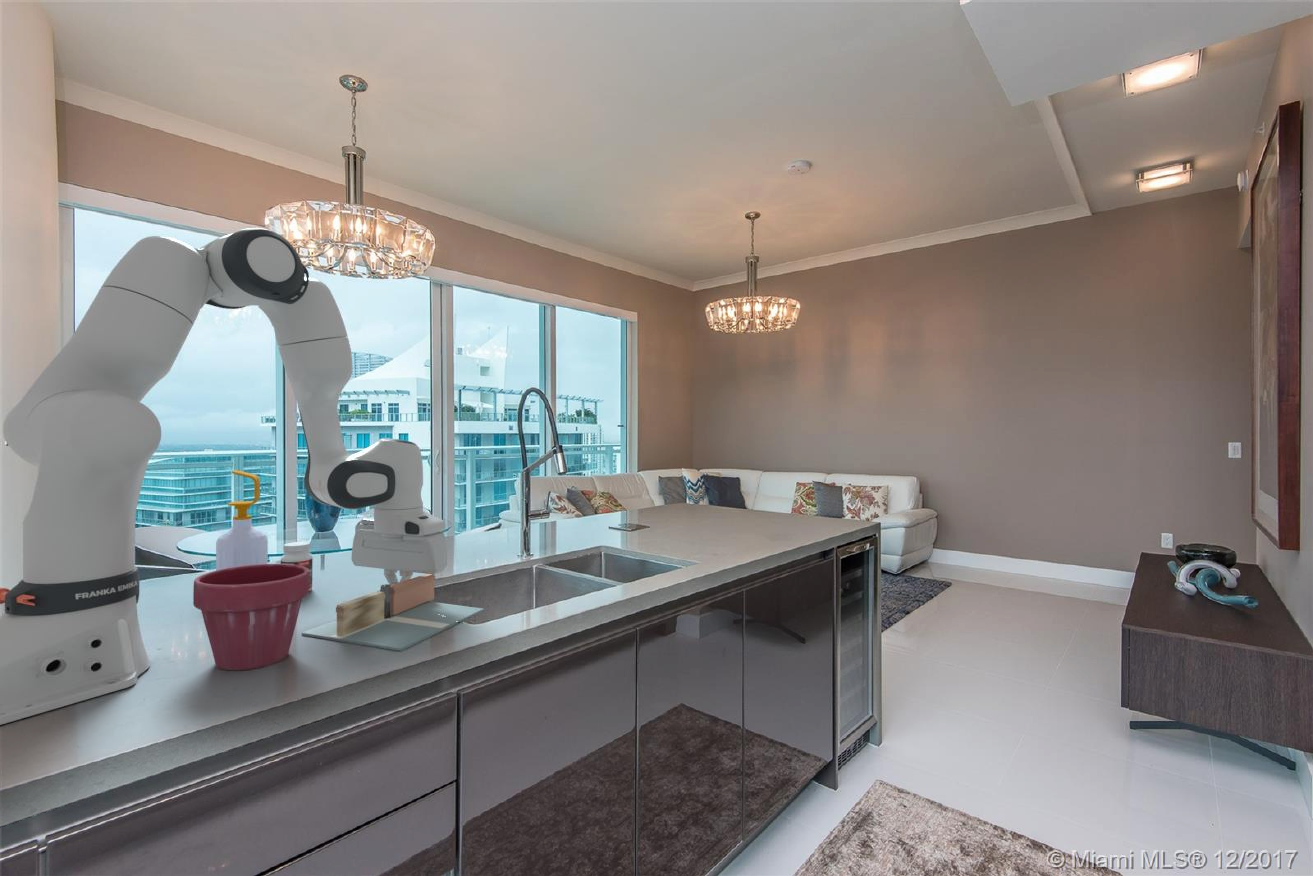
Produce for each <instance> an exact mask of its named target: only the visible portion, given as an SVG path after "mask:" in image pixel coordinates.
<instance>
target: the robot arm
mask: <svg viewBox="0 0 1313 876" xmlns="http://www.w3.org/2000/svg"><path fill="white" fill-rule="evenodd" d="M309 273H310V272H309V270H308V269H307V268H306V266H305V265H304V264H303V262H302V259H301V257H300V255H299V253H298V252H297V251H296V249H295V248H294V246H293V245H292V244H291V243H290V242H289V241H288V240H287V239H286V238H285V237H284V236H283V235H281V234H280V233H277V232H275V231H272V230H270V229H266V228H259V227H256V228H255V227H253V228H249V227H248V228H243V229H238V230H236V231H234V232H233V233H231V234H227V235H223V236H220V237H218V238H216V239H214V240H212V241H210V242H208V243H207V244H205V245H203V246H201V247H200V248H196V247H192V246H190V245H189V244H187V243H185V242H183V241H181V240H177V239H175V238H173V237H167V236H162V235H161V236H160V235H152V236H146V237H144V238H141V239H140V240H139V241H137V242H136V243H135V244H134V245H133V246H132V247H131V248H130V249H129V250H128V251H127V252H126V253H125V254H124V256H123V257H121V259H120V260H119V261H118V262H117V263H116V265H115V266H114V267H113V268H112V270H111V272H110V273H109V274H108V275H107V277H106V279H105V280H104V282H103V284H102V285H101V287H100V288H99V290H98V291H97V294H96V296H95V297H94V299H93V301H92V302H91V304H90V305H89V307H88V309H87V311H86V312H85V314H84V316H83V318H82V319H81V321H80V323H79V324H78V325H77V328H76V329H75V331H74V332H73V334H72V335H71V337H70V339H69V340H68V341H67V342H66V344H65V345H64V346H63V347H62V349H61V350H60V351H59V352H58V353H57V354H56V355H55V357H54V358H53V359H52V360H51V362H50V363H48V365H47V366H46V367H45V368H44V370H42V373H41V374H40V375H39V376H38V377H37V378H36V380H34V382H33V384H32V385H31V386H30V388H29V389H28V390H27V392H26V393H25V394H24V396H23V397H22V399H21V400H20V401H18V403H17V404H16V405H15V406H14V407H13V408H11V410H10V411H9V412H8V414H7V415H6V417H5V418H4V421H3V424H2V434H3V438H4V439H5V442H6V444H7V445H8V446H9V448H10V449H11V450H12V451H13V452H14V453H15V454H16V455H17V456H19V458H20V459H23V460H24V461H25V462H27V463H29V464H31V465H33V466H36V467H38V470H37V471H38V473H37V478H36V481H35V486H34V491H33V495H32V498H31V502H30V505H29V508H28V511H27V512H26V514H25V515H24V517H23V521H22V579H21V580H20V581H18V583H17V584H16V585H15V586H13V587H12V588H11V589H9V588H7V587H0V605H3V604H4V613H3V614H2V615H1V616H0V726H1V725H4V724H8V723H12V722H15V721H18V720H22V719H24V718H28V717H32V716H35V715H39V714H43V713H46V712H49V711H53V710H56V709H59V708H62V707H65V706H69V705H73V704H75V703H79V702H82V701H87V700H89V699H93V698H96V697H100V696H103V695H106V694H109V693H112V692H117V691H120V690H123V689H126V688H127V689H128V688H129V687H132V686H134V685H135V684H136V683H137V681H138V677H140V675H141V674H143V673H144V672H146V670H147V669H149V667H150V666H151V661H150V658H149V655H148V653H147V650H146V648H145V645H144V641H143V636H142V633H141V627H140V621H139V615H138V605H137V604H138V603H139V600H140V599H139V598H140V570H139V567H137V566H136V516H137V508H138V503H139V498H140V495H141V490H142V486H143V484H144V483H143V482H144V479H145V475H146V471H147V467H148V463H149V461H150V459H151V458H152V456H153V455H154V454H155V453H156V451H157V450H158V448H159V446H160V443H161V439H162V427H161V423H160V421H159V418H158V417H157V416H156V414H155V413H154V411H152V410H151V408H150V407H148V406H146V405H145V404H144V403H142V402H141V401H142V400H143V399H144V398H145V396H146V395H147V394H148V393H149V392H150V391H151V389H153V387H154V386H156V384H158V382H160V381H161V380H162V379H163V378H165V377H166V376H167V375H168V374H169V372H170V371H171V369H172V367H173V366H174V363H175V361H176V360H177V357H178V355H179V353H180V352H181V350H182V348H183V345H184V343H185V342H186V340H187V337H188V336H189V334H190V332H191V330H192V328H193V327H194V324H195V322H196V320H197V318H198V315H199V313H200V311H201V309H202V308H203V307H204V306H205V305H209V306H212V307H216V308H219V309H228V310H236V309H237V310H238V309H243V308H245V307H249V306H250V307H251V306H258V308H259V309H260V310H261V311H262V312H263V314H265V316H266V317H267V318H268V320H269V322H270V323H271V326H272V327H273V330H274V335H275V339H276V344H277V346H278V351H279V355H280V358H281V361H282V364H283V367H284V370H285V373H286V375H287V378H288V380H289V381H288V382H289V383H290V385H291V389H292V391H293V394H294V398H295V399H296V403H297V407H298V411H299V417H300V421H301V426H302V430H303V435H304V438H305V439H304V440H305V443H306V449H307V464H306V469H305V473H304V487H305V489H306V492H307V494H308V495H309V496H310V497H311V498H312V499H313V500H314V501H315V502H316V503H319V504H321V505H324V506H329V507H331V506H332V507H336V508H341V509H344V510H351V511H352V510H353V511H354V510H359V509H363V508H367V507H371V506H373V519H368V518H362V519H361V520H360V521H358V522H357V523H356V525H355V527H354V529H355V530H354V532H355V533H354V536H353V541H352V546H351V547H352V548H351V562H352V564H353V565H354V566H356V567H362V568H363V567H364V568H371V569H379V570H383V575H384V577H385V579H386V581H387V583H388V584H389V585H390V586H391V585H394V584H397V583H400V582H403V581H406V580H409V579H412V577H413V574H414V573H417V574H434V575H435V574H438V573H443V572H444V571H445V569H446V568H447V566H448V544H447V539H446V536H445V534H443V533H442V532H443V531H445V530H446V521H444V519H441V518H440V517H437V516H434V515H433V514H431V513H430V512H427V511H425V510H424V502H423V500H422V488H423V486H424V469H423V468H424V466H423V457H422V456H423V455H422V452H421V449H420V447H419V446H418V444H416V443H415V442H413V441H409V440H404V439H398V438H393V437H391V438H390V437H382V438H380V439H378V440H377V441H376V442H374V443H373V444H371V445H370V446H367V447H366V448H364V449H363V450H359V452H356V453H353V454H350V453H349V452H348V451H347V448H346V447H345V443H344V437H343V433H342V432H343V431H342V427H341V422H340V417H339V411H338V403H339V399H340V395H341V394H342V392H343V389H344V388H345V386H346V385H347V383H349V382H350V379H351V377H352V375H353V357H352V355H353V354H352V349H351V344H350V340H349V337H348V332H347V329H346V326H345V323H344V320H343V316H342V314H341V312H340V308H339V307H338V304H337V302H336V300H335V298H334V297H335V296H334V295H333V294H332V293H333V292H332V291H331V289H330V288H329V287H328V286H327V284H326V283H324V282H323V281H320V280H319V279H316V278H312V277H310V274H309ZM398 571H399V577H401V578H400V581H399V580H398V577H397V574H396V573H398Z"/></svg>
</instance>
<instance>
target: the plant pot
mask: <svg viewBox="0 0 1313 876" xmlns="http://www.w3.org/2000/svg"><path fill="white" fill-rule="evenodd" d="M192 590H193V591H192V592H193V598H192V600H193V602H192V605H193V606H194V607H195V609H198V610H200V611H201V614H202V618H203V623H204V626H205V630H206V634H207V637H208V641H209V644H210V648H211V652H212V656H213V660H214V663H215V666H216V667H217V668H219V669H221V670H227V671H245V670H254V669H259V668H263V667H267V666H270V665H273V664H276V663H279V662H280V661H282V660H284V659H285V658H286V657H287V656H288V655H289V653H290V650H291V649H290V648H291V644H292V641H293V636H294V634H295V630H296V626H297V622H298V621H297V620H298V617H299V613H300V610H301V605H302V600H303V598H305V597H307V596H308V594H309V592H310V591H309V569H308V568H306V567H303V566H299V565H292V564H281V563H267V564H258V565H247V566H239V567H232V568H226V569H221V570H217V571H216V570H214V571H213V570H212V571H210V572H206V573H204V574H200V575H199V576H196V578H195V579H194V580H193V589H192Z"/></svg>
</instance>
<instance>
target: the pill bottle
mask: <svg viewBox="0 0 1313 876" xmlns="http://www.w3.org/2000/svg"><path fill="white" fill-rule="evenodd" d="M310 549H311V542H309V541H293V542H288V543H284V544H283V552H284V554H283V555H282V556H281V557H280V564H292V565H299V566H303V567H306V568H308V569H309V592H310V591H311V590H313V563H314V562H313V560H314V559H313V555H312V553H311V552H309V551H310Z"/></svg>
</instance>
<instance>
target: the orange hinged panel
mask: <svg viewBox="0 0 1313 876" xmlns="http://www.w3.org/2000/svg"><path fill="white" fill-rule="evenodd" d="M435 580H436V575H435V574H425V573H423V574H422V575H418V576H416V577H413V578H412V577H411V578H410V579H409V580H406V581H403V582H400V581H399V582H400V583H397V584H394V585H391V586H390V615H395V614H398V613H400V612H403V611H405V610H408V609H410V608H413V607H415V606H418V605H420V604H422V603H425V602H427V601H429V602H431V601H433V600H434V599H435Z"/></svg>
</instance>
